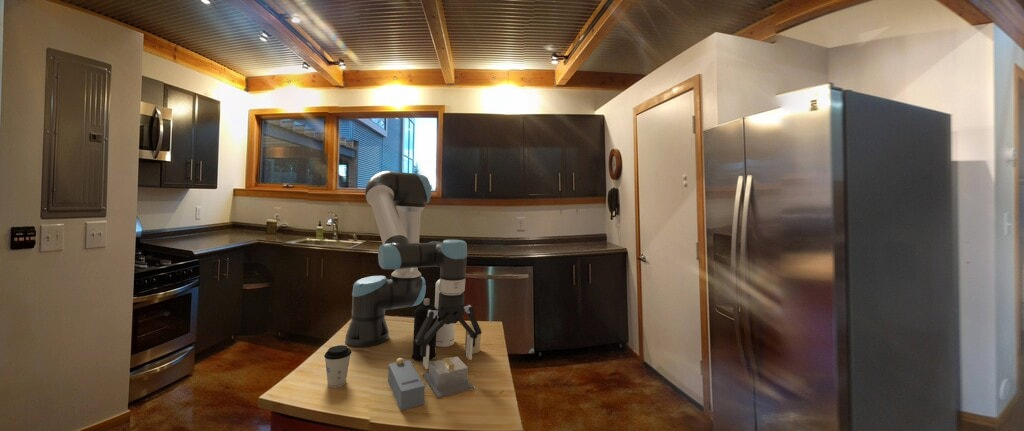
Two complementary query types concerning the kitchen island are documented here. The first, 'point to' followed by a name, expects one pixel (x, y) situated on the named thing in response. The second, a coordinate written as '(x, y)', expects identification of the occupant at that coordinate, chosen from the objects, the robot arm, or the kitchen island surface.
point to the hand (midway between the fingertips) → (448, 362)
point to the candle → (477, 341)
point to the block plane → (406, 384)
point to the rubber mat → (448, 390)
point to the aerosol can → (418, 321)
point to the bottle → (444, 326)
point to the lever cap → (447, 372)
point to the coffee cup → (337, 365)
